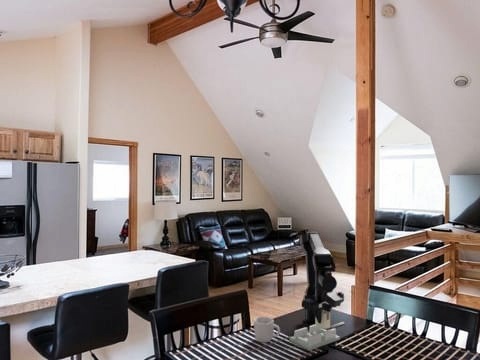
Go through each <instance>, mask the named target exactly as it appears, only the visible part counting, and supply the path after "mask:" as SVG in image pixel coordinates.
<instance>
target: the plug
mask: <svg viewBox="0 0 480 360" xmlns="http://www.w3.org/2000/svg"><path fill="white" fill-rule="evenodd" d="M314 325H316V326H319V327H321V328H322V329H324V330H327V329H329V328H331V327H330V326H331V311H330V312H328V311H325V310H322V317H321V323H318V321H317V319H316V317H315V324H314Z"/></svg>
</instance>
